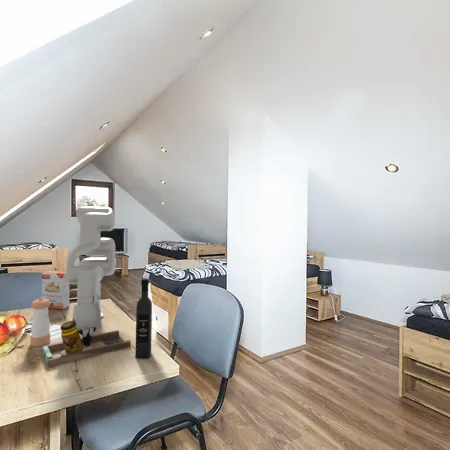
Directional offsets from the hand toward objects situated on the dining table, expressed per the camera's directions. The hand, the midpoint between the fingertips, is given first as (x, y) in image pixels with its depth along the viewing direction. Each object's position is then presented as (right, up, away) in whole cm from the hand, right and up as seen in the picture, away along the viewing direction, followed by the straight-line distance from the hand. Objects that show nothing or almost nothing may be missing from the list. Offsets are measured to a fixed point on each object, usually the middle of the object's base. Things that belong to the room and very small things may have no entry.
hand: (86, 345), depth 124 cm
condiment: (-4, -2, -2) cm, 5 cm away
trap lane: (0, -2, +1) cm, 2 cm away
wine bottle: (+24, -3, -3) cm, 24 cm away
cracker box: (-43, 0, +56) cm, 71 cm away
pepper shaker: (-22, -2, +6) cm, 23 cm away
